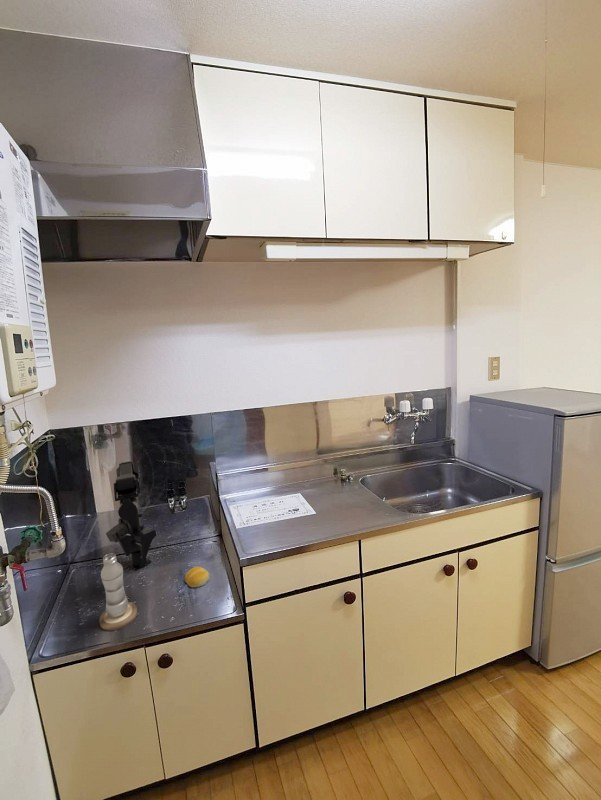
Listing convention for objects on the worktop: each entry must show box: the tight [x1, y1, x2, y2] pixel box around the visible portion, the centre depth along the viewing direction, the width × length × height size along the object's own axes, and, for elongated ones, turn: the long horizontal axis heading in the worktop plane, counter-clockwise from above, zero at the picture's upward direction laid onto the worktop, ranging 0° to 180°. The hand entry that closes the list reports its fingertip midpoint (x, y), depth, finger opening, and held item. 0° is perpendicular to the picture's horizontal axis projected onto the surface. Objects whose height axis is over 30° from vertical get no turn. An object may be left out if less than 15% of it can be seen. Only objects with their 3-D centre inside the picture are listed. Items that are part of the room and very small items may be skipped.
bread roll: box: [184, 566, 210, 588], centre depth 143 cm, size 8×9×4 cm
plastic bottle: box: [100, 552, 129, 618], centre depth 124 cm, size 6×7×20 cm
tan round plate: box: [98, 601, 138, 631], centre depth 126 cm, size 11×11×2 cm
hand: (136, 557), depth 137 cm, fingers open, 9 cm apart
